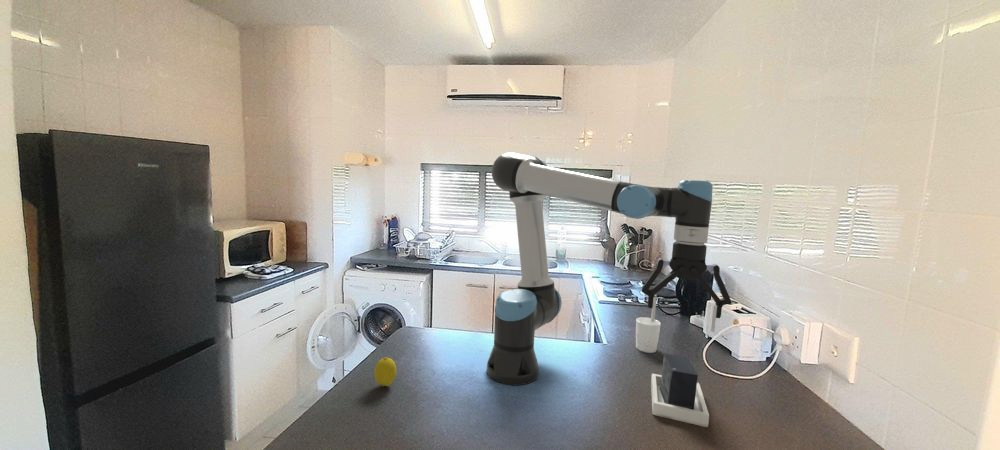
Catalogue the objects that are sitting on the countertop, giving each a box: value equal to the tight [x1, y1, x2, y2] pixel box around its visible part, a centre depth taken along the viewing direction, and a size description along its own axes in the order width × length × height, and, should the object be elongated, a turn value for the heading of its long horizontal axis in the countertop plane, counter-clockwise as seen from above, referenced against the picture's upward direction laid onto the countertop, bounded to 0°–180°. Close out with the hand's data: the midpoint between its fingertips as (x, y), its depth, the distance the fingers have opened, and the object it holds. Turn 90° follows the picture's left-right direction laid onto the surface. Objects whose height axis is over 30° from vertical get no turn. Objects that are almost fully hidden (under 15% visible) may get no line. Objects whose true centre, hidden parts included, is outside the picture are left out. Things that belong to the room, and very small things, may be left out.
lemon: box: [374, 356, 397, 387], centre depth 97 cm, size 6×6×8 cm
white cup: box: [635, 316, 661, 354], centre depth 129 cm, size 8×8×10 cm
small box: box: [660, 352, 699, 410], centre depth 95 cm, size 11×6×10 cm, turn 166°
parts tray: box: [650, 373, 710, 428], centre depth 96 cm, size 12×16×3 cm
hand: (681, 325), depth 94 cm, fingers open, 13 cm apart
